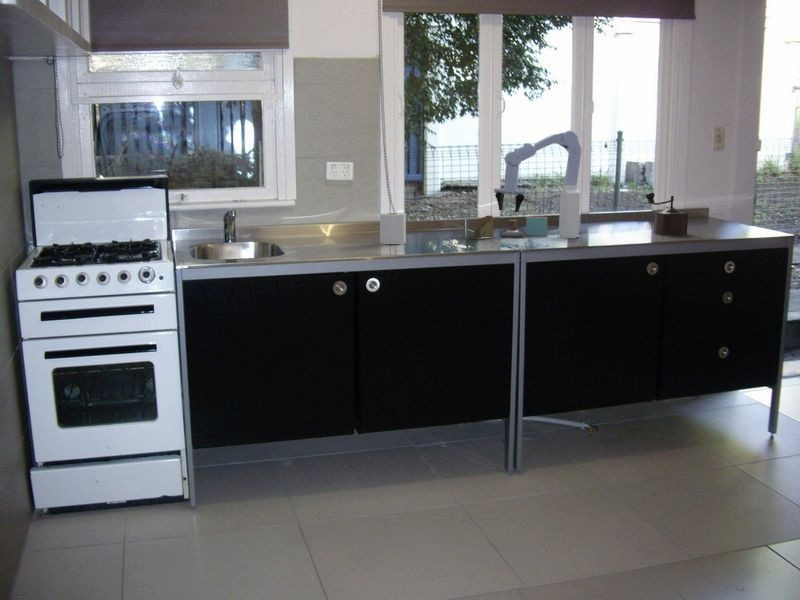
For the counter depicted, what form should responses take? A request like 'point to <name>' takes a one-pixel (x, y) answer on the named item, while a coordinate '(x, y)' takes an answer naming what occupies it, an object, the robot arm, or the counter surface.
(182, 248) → the counter surface
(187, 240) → the counter surface
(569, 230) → the milk
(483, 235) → the rock
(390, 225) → the light grey block
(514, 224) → the two-tone stacked blocks
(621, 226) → the counter surface
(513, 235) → the pad
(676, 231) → the manual coffee grinder
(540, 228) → the tile
